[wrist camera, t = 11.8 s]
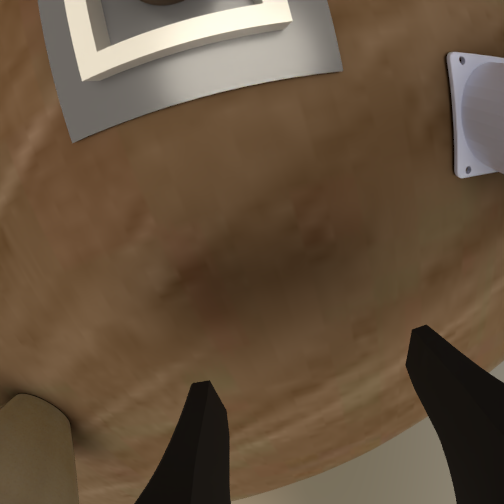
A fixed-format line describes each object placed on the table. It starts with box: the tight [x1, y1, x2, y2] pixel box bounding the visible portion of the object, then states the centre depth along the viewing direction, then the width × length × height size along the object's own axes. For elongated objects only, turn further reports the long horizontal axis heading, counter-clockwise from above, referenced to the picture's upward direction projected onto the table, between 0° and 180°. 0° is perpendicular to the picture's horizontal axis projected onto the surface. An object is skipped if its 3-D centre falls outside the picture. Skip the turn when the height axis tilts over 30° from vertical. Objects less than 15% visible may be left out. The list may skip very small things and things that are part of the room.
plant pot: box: [0, 394, 79, 504], centre depth 20 cm, size 15×15×16 cm
